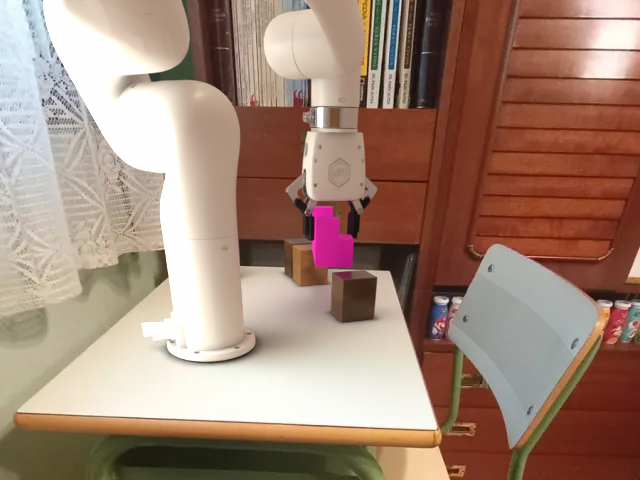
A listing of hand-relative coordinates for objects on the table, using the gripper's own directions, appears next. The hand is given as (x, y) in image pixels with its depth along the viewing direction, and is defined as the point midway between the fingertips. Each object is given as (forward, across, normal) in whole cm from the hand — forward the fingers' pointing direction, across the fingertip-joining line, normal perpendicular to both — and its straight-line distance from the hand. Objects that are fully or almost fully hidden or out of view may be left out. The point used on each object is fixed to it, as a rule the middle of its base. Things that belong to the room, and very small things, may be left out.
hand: (331, 237), depth 86 cm
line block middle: (+11, 0, +11) cm, 15 cm away
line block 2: (+11, 0, -11) cm, 15 cm away
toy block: (+3, 0, 0) cm, 3 cm away
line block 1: (+11, 0, +17) cm, 20 cm away
